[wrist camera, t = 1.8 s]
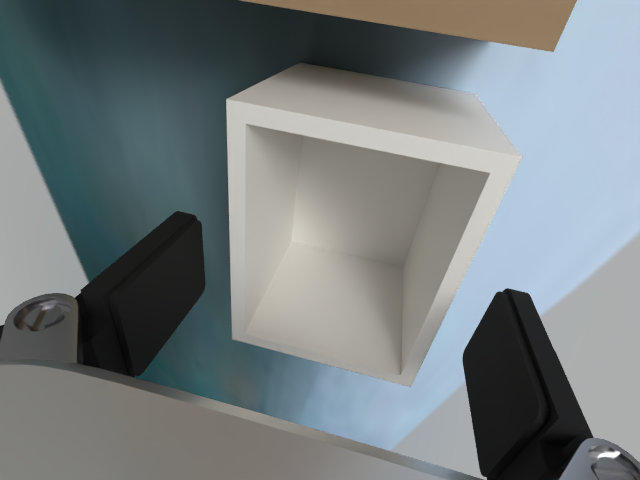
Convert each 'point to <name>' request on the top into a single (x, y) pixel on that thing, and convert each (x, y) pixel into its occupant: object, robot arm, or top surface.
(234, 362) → the top surface
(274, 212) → the cream crate
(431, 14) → the pine crate
